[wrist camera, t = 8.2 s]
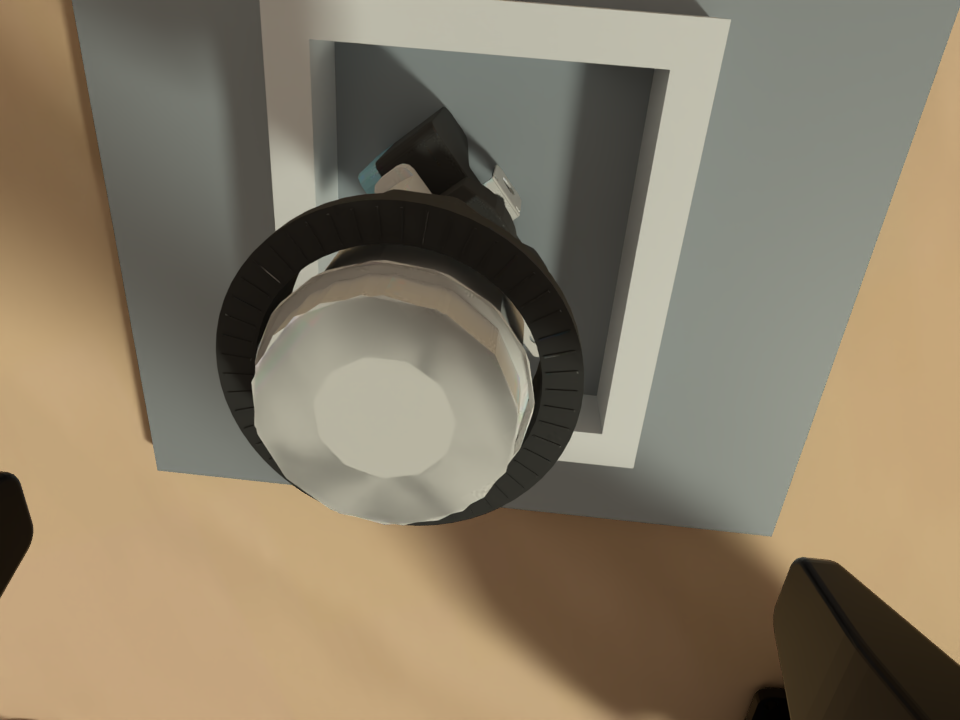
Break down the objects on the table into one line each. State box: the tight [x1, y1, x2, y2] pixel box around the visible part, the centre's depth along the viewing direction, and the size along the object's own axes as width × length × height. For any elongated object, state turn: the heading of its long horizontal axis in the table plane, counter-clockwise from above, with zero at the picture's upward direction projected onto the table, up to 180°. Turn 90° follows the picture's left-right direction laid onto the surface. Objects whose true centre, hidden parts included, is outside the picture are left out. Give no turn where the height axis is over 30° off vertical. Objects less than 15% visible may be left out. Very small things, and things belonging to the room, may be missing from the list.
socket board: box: [72, 0, 960, 536], centre depth 18 cm, size 18×20×3 cm
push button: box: [216, 107, 584, 526], centre depth 14 cm, size 7×5×10 cm
